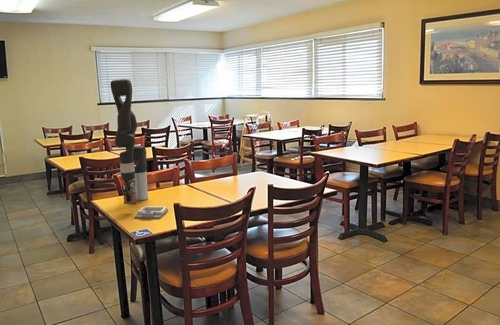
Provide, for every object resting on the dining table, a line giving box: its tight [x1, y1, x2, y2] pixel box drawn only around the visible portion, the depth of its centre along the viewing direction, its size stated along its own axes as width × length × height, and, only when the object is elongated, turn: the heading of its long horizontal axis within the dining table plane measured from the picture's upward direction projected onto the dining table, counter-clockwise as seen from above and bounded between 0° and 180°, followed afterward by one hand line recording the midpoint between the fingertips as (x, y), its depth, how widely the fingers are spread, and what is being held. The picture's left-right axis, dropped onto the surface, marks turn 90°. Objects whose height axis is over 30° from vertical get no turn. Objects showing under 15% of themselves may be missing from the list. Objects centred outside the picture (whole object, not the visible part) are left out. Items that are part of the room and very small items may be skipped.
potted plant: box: [122, 187, 138, 206], centre depth 236 cm, size 8×3×10 cm, turn 70°
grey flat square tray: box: [134, 205, 169, 220], centre depth 231 cm, size 14×14×3 cm
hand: (130, 200), depth 236 cm, fingers closed on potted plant, 3 cm apart
